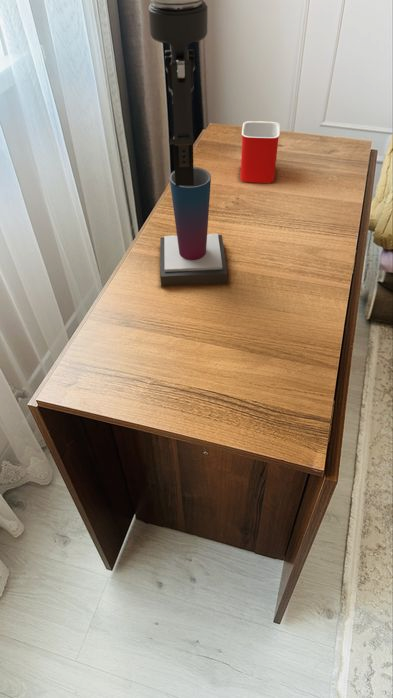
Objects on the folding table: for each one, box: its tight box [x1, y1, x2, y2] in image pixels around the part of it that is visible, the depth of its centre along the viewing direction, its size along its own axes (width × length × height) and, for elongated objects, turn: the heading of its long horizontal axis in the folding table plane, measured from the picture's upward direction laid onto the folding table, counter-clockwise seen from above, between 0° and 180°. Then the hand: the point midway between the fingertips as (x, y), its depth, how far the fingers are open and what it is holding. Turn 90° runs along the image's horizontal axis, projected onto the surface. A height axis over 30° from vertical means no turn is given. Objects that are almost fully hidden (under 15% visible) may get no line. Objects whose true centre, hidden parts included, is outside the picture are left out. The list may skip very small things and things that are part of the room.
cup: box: [169, 166, 212, 260], centre depth 87 cm, size 7×7×15 cm
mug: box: [239, 120, 281, 184], centre depth 115 cm, size 12×8×11 cm
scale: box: [159, 233, 228, 288], centre depth 94 cm, size 12×12×3 cm
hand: (183, 162), depth 78 cm, fingers open, 13 cm apart
